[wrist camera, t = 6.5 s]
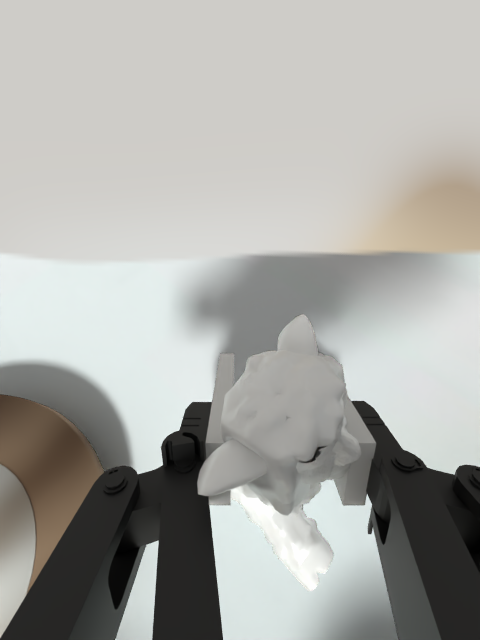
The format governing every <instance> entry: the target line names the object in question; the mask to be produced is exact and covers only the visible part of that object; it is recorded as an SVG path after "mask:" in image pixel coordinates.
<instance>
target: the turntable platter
mask: <svg viewBox="0 0 480 640" xmlns="http://www.w3.org/2000/svg"><path fill="white" fill-rule="evenodd" d="M103 473H104V470H103V468H102V465H101V463H100V461H99V459H98V456H97V454H96V452H95V451H94V449H93V447H92V446H91V444H90V443H89V441H88V440H87V438H86V437H85V436H84V435H83V433H82V432H81V431H80V430H79V429H78V428H77V427H76V426H75V425H74V424H73V423H72V422H71V421H69V420H68V419H67V418H66V417H64V416H63V415H62V414H60V413H58V412H56V411H55V410H53V409H51V408H49V407H47V406H45V405H42V404H39V403H36V402H33V401H30V400H27V399H23V398H19V397H14V396H8V395H0V638H1V636H2V635H3V633H4V631H5V630H6V628H7V626H8V625H9V623H10V621H11V620H12V618H13V616H14V615H15V613H16V611H17V610H18V608H19V606H20V605H21V603H22V601H23V600H24V598H25V596H26V595H27V593H28V592H29V590H30V588H31V587H32V585H33V583H34V582H35V580H36V578H37V577H38V575H39V573H40V572H41V570H42V568H43V567H44V565H45V563H46V562H47V560H48V558H49V557H50V555H51V553H52V552H53V550H54V549H55V547H56V545H57V544H58V542H59V540H60V539H61V537H62V535H63V534H64V532H65V530H66V529H67V527H68V525H69V524H70V522H71V520H72V519H73V517H74V515H75V514H76V512H77V510H78V509H79V507H80V505H81V504H82V502H83V501H84V499H85V497H86V496H87V494H88V492H89V491H90V489H91V487H92V486H93V484H94V482H95V481H96V480H97V479H98V478H99V476H100V475H102V474H103Z"/></svg>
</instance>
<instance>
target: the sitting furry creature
mask: <svg viewBox="0 0 480 640" xmlns="http://www.w3.org/2000/svg"><path fill="white" fill-rule="evenodd" d="M277 349H278V351H274V350H272V351H266V352H262V353H260V354H254V355H252V356H251V357H249V358H247V362H246V368H245V371H244V373H243V375H242V376H241V377H240V378H239V380H238V381H237V382H236V383H235V385H234V386H233V387H232V388H231V390H229V391H228V392H227V393H226V394H225V397H224V405H223V411H222V416H221V423H220V430H221V436H222V439H223V441H224V444H222V445H221V446H220V447H218V448H217V449H216V450H215V451H214V452H213V453H212V454H211V455H210V456H209V457H208V458H207V459H206V460H205V462H204V464H203V466H202V467H201V469H200V472H199V476H198V481H197V486H198V494H199V495H203V496H216V495H218V494H221V493H224V492H226V491H229V490H231V499H232V500H233V501H237V502H238V503H239V504H241V506H242V508H243V509H244V510H245V512H246V514H247V516H248V518H249V520H250V521H251V522H252V523H254V524H256V525H258V526H259V527H260V528H261V530H262V531H263V533H264V536H265V539H266V540H267V541H268V543H270V544H271V545H272V548H273V553H274V554H276V555H277V557H278V559H279V560H281V561H282V562H283V563H284V565H285V566H286V567H287V568H288V569H289V570H290V572H291V573H292V574H293V575H294V576H295V578H296V579H297V580H298V581H299V582H300V583H301V584H302V585H303V586H304V587H305V588H306V589H307V590H308V591H312V590H314V589H315V588H316V587H317V585H318V584H319V578H318V574H317V573H321V574H324V573H326V572H327V570H328V569H329V567H330V565H331V562H332V560H333V556H334V553H333V551H332V549H331V547H330V545H329V543H328V541H327V540H326V539H325V538H324V537H323V536H322V534H321V533H320V531H319V530H318V529H317V523H316V521H315V520H314V519H311V518H308V517H307V516H306V514H305V512H304V511H303V504H308V503H309V502H310V501H311V499H312V498H313V497H314V496H315V495H316V494H318V493H319V492H320V490H321V483H320V482H324V481H326V480H333V479H335V480H336V479H339V478H341V477H343V476H344V475H345V474H347V472H348V471H349V469H350V466H351V463H353V462H354V461H357V460H358V459H359V457H360V456H361V449H360V446H359V442H358V441H357V439H356V438H355V437H353V436H352V435H351V434H349V433H348V432H347V430H346V428H345V427H346V425H347V420H346V418H345V414H344V409H345V406H346V404H347V390H346V384H345V382H344V373H343V367H342V364H340V363H338V362H337V361H336V360H335V359H334V358H333V357H331V356H328V355H326V356H323V357H320V356H318V349H317V343H316V336H315V333H314V330H313V327H312V325H311V322H310V321H309V319H308V318H307V316H305V315H304V314H301V315H299V316H297V317H296V318H294V319H293V320H292V321H291V322H290V323H289V324H288V325H287V326H285V327H284V328H283V330H282V331H281V333H280V335H279V338H278V343H277Z"/></svg>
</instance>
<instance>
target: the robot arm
mask: <svg viewBox="0 0 480 640" xmlns="http://www.w3.org/2000/svg"><path fill="white" fill-rule="evenodd" d="M318 356H320V357H323V356H324V355H323V354H322V353H318ZM233 386H234V353H220V356H219V362H218V368H217V375H216V381H215V387H214V393H213V399H212V402H192V403H191V404H190V405H189V406H188V408H187V409H186V410H185V414H184V417H183V420H182V424H181V427H180V431H176V432H174V433H172V434H170V435H169V436H167V437H166V439H165V440H164V441H163V443H162V446H161V450H162V458H163V466H161V467H159V468H158V469H155V470H152V471H149V472H145V473H142V474H138V475H137V472H136V471H135V470H134V469H133V468H132V467H127V466H120V467H115V468H112V469H110V470H108V471H106V472H105V473H103V474H102V475H100V476H99V478H98V479H97V480H96V481H95V482H94V484H93V486H92V487H91V489H90V491H89V492H88V494H87V496H86V497H85V499H84V501H83V502H82V504H81V505H80V507H79V509H78V510H77V512H76V514H75V515H74V517H73V519H72V520H71V522H70V524H69V525H68V527H67V529H66V530H65V532H64V534H63V535H62V537H61V539H60V540H59V542H58V544H57V545H56V547H55V549H54V550H53V552H52V553H51V555H50V557H49V558H48V560H47V562H46V563H45V565H44V567H43V568H42V570H41V572H40V573H39V575H38V577H37V578H36V580H35V582H34V583H33V585H32V587H31V588H30V590H29V592H28V593H27V595H26V596H25V598H24V600H23V601H22V603H21V605H20V606H19V608H18V610H17V611H16V613H15V615H14V616H13V618H12V620H11V621H10V623H9V625H8V626H7V628H6V630H5V631H4V633H3V635H2V636H1V638H0V640H115V638H116V635H117V632H118V629H119V626H120V623H121V620H122V617H123V614H124V611H125V608H126V605H127V602H128V599H129V596H130V592H131V589H132V586H133V583H134V580H135V577H136V574H137V571H138V568H139V565H140V562H141V559H142V556H143V553H144V550H145V547H146V544H149V543H152V542H155V541H158V540H159V546H158V562H157V577H156V593H155V608H154V623H153V639H152V640H223V635H222V625H221V615H220V606H219V596H218V586H217V577H216V567H215V557H214V548H213V538H212V528H211V519H210V509H209V505H230V502H231V490H229V491H226V492H224V493H221V494H218V495H216V496H203V495H199V494H198V486H197V481H198V476H199V472H200V469H201V467H202V466H203V464H204V462H205V460H206V459H207V458H208V457H209V456H210V455H211V454H212V453H213V452H214V451H215V450H216V449H217V448H218V447H220V446H221V445H222V444H224V441H223V439H222V436H221V430H220V423H221V416H222V411H223V405H224V397H225V394H226V393H227V392H228V391H229V390H231V388H232V387H233ZM344 414H345V418H346V420H347V425H346V427H345V428H346V430H347V432H348V433H349V434H351V435H352V436H353V437H355V438H356V439H357V441H358V442H359V446H360V449H361V456H360V457H359V459H358V460H357V461H354V462H353V463H351V466H350V469H349V471H348V472H347V474H345V475H344V476H343V477H341V478H339V479H336V480H335V479H334V481H335V484H336V487H337V490H338V493H339V495H340V498H341V501H342V504H343V505H365V500H366V495H367V494H368V496H369V498H370V501H371V503H372V509H371V514H370V519H369V524H368V534H371V533H372V528H373V529H374V533H375V538H376V542H377V547H378V551H379V555H380V560H381V564H382V569H383V573H384V577H385V582H386V586H387V591H388V595H389V600H390V604H391V608H392V613H393V617H394V622H395V626H396V630H397V635H398V639H399V640H480V467H477V466H472V465H463V466H459V467H458V469H457V470H456V472H455V475H453V474H449V473H444V472H440V471H436V470H433V469H429V468H427V467H426V465H425V464H424V463H423V461H422V460H421V459H419V458H418V457H417V456H415V455H414V454H412V453H410V452H408V451H405V450H403V449H402V448H401V446H400V445H399V443H398V442H397V441H396V439H395V438H394V436H393V435H392V433H391V432H390V431H389V429H388V428H387V426H385V423H384V422H383V421H382V419H381V418H380V416H379V415H378V413H377V412H376V411H375V409H374V408H373V407H371V406H370V405H369V404H367V403H366V402H365V401H351V400H350V399H349V397H348V395H347V404H346V406H345V409H344Z"/></svg>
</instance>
